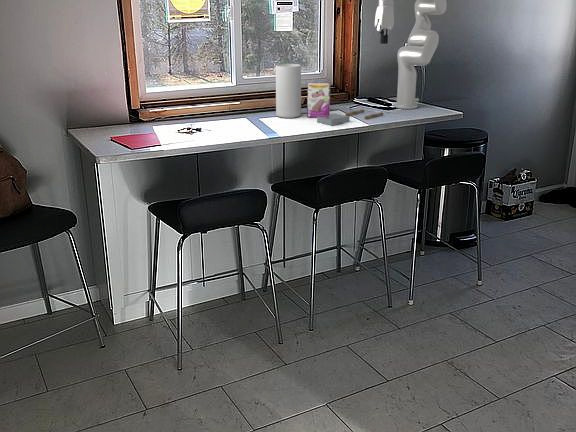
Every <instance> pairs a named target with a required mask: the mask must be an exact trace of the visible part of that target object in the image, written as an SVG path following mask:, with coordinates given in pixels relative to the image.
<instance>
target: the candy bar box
mask: <svg viewBox="0 0 576 432" xmlns="http://www.w3.org/2000/svg"><path fill="white" fill-rule="evenodd" d="M306 95H307V96H306V97H307V98H306V99H307V100H306V102H307V103H306V117H307V118H316V119H317V117H318V116H324V115H330V111H331V109H330V105H331V104H330V103H331V102H330V101H331V84H330V83H316V82H315V83H314V82H312V83H311V82H308V83H307V94H306Z"/></svg>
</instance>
